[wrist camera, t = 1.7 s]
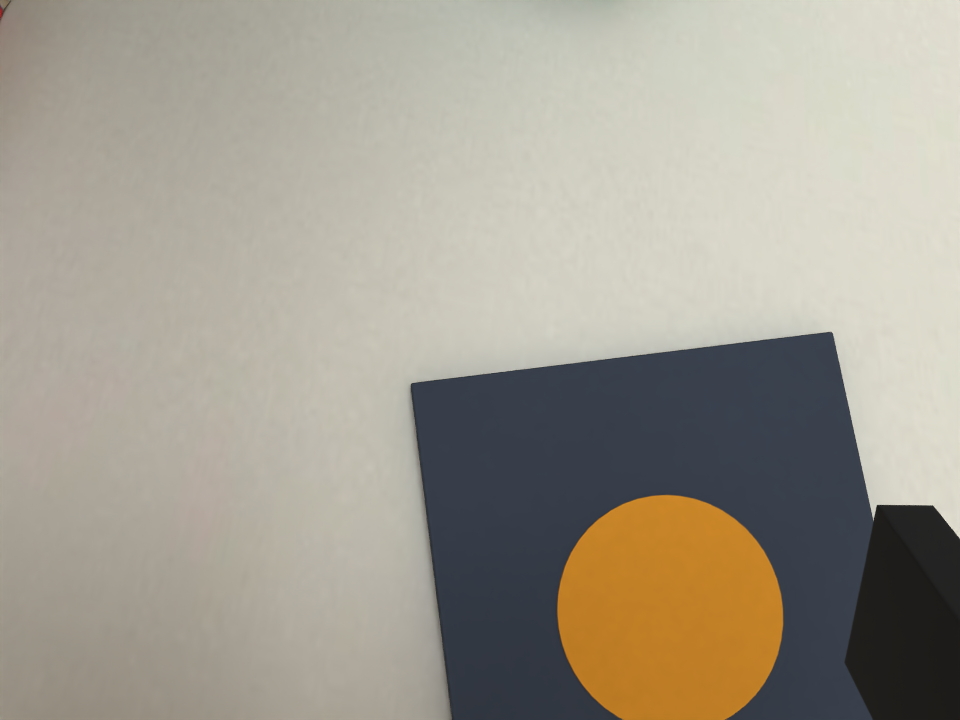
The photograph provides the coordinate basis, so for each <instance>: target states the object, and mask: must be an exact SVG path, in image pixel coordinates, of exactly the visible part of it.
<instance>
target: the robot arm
mask: <svg viewBox="0 0 960 720" xmlns="http://www.w3.org/2000/svg"><path fill="white" fill-rule="evenodd" d="M844 663H845V665H846V667H847V669H848V671H849V673H850V675H851V677H852V679H853V681H854V683H855V685H856V687H857V689H858V691H859V693H860V695H861V697H862V699H863V701H864V703H865V705H866V707H867V709H868V711H869V713H870V715H871V717H872V719H873V720H960V538H959V537H958V536H957V535H956V533H955V532H954V531H953V530H952V529H951V527H950V526H949V525H948V524H947V522H946V521H945V520H944V519H943V517H942V516H941V515H940V514H939V512H938V511H937V510H936V509H935V507H934V506H924V505H877V507H876V512H875V517H874V522H873V527H872V532H871V536H870V541H869V546H868V551H867V556H866V561H865V565H864V570H863V575H862V580H861V585H860V590H859V594H858V599H857V604H856V609H855V614H854V619H853V623H852V628H851V633H850V638H849V643H848V648H847V652H846V657H845V662H844Z"/></svg>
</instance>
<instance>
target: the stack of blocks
mask: <svg viewBox="0 0 960 720" xmlns="http://www.w3.org/2000/svg"><path fill="white" fill-rule="evenodd" d="M9 1H10V0H0V18H1V16H2V12H3V9H4V8H5V7H6V6H7V5H8V3H9Z"/></svg>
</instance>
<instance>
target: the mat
mask: <svg viewBox="0 0 960 720" xmlns="http://www.w3.org/2000/svg"><path fill="white" fill-rule="evenodd" d="M411 393H412V401H413V409H414V417H415V425H416V433H417V441H418V449H419V457H420V465H421V473H422V482H423V490H424V498H425V506H426V514H427V522H428V530H429V538H430V546H431V554H432V562H433V570H434V578H435V586H436V594H437V602H438V610H439V618H440V626H441V634H442V642H443V650H444V658H445V666H446V674H447V682H448V690H449V698H450V706H451V714H452V720H873V719H872V717H871V715H870V713H869V711H868V709H867V707H866V705H865V703H864V701H863V699H862V697H861V695H860V693H859V691H858V689H857V687H856V685H855V683H854V681H853V679H852V677H851V675H850V673H849V671H848V669H847V667H846V665H845V663H844V662H845V657H846V652H847V648H848V643H849V638H850V633H851V628H852V623H853V619H854V614H855V609H856V604H857V599H858V594H859V590H860V585H861V580H862V575H863V570H864V565H865V561H866V556H867V551H868V546H869V541H870V536H871V532H872V527H873V517H872V513H871V508H870V503H869V499H868V494H867V490H866V485H865V480H864V476H863V471H862V466H861V462H860V457H859V453H858V448H857V443H856V439H855V434H854V429H853V425H852V420H851V416H850V411H849V406H848V402H847V397H846V392H845V388H844V383H843V379H842V374H841V369H840V365H839V360H838V355H837V351H836V346H835V342H834V337H833V333H832V332H826V333H818V334H809V335H801V336H793V337H785V338H777V339H769V340H760V341H752V342H744V343H736V344H728V345H720V346H711V347H703V348H695V349H687V350H679V351H671V352H662V353H654V354H646V355H638V356H630V357H622V358H613V359H605V360H597V361H589V362H581V363H573V364H564V365H556V366H548V367H540V368H532V369H523V370H515V371H507V372H499V373H491V374H483V375H474V376H466V377H458V378H450V379H442V380H434V381H425V382H417V383H412V384H411Z"/></svg>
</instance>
